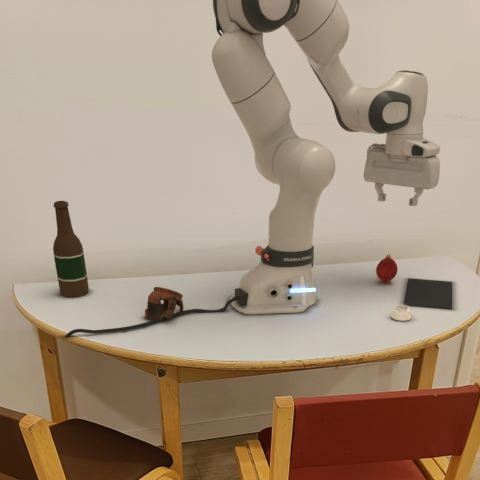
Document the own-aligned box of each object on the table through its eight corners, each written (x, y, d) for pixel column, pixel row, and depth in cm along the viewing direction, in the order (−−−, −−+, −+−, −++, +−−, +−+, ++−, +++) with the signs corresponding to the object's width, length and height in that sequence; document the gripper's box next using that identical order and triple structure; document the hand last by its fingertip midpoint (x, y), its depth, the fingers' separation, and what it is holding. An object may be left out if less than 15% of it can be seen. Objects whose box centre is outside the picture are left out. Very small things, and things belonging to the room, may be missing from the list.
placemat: (452, 309, 151) (452, 308, 151) (403, 305, 154) (403, 304, 154) (451, 282, 169) (452, 281, 169) (408, 279, 172) (408, 278, 172)
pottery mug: (136, 316, 150) (145, 284, 150) (170, 326, 155) (178, 295, 155) (154, 319, 140) (163, 285, 140) (189, 330, 145) (198, 297, 145)
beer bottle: (54, 295, 163) (38, 203, 150) (71, 287, 169) (57, 197, 156) (78, 299, 160) (63, 205, 148) (95, 290, 166) (82, 199, 154)
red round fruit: (397, 286, 167) (401, 257, 163) (376, 286, 167) (380, 257, 163) (393, 279, 172) (397, 251, 168) (373, 279, 172) (376, 251, 168)
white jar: (391, 313, 149) (389, 320, 145) (393, 302, 148) (390, 309, 144) (412, 315, 148) (410, 323, 144) (414, 304, 146) (411, 311, 142)
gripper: (361, 144, 154) (356, 200, 162) (433, 150, 142) (425, 210, 150) (374, 141, 158) (370, 196, 166) (446, 147, 146) (437, 206, 153)
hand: (396, 203), depth 157 cm, fingers open, 8 cm apart
